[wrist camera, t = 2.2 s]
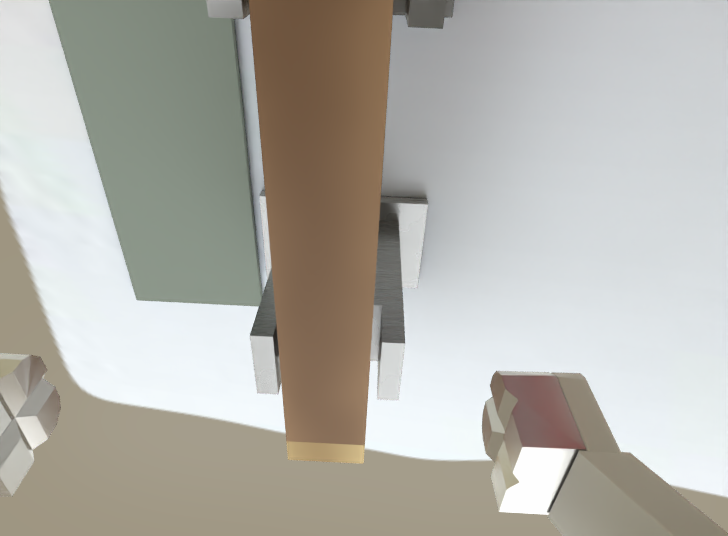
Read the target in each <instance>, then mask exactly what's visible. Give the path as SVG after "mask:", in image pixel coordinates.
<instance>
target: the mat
mask: <svg viewBox="0 0 728 536" xmlns="http://www.w3.org/2000/svg"><path fill="white" fill-rule="evenodd" d="M49 3H50V6H51V10H52V13H53V17H54V20H55V23H56V27H57V30H58V34H59V37H60V41H61V44H62V47H63V51H64V54H65V58H66V61H67V64H68V68H69V71H70V75H71V78H72V81H73V85H74V88H75V92H76V95H77V98H78V102H79V105H80V109H81V112H82V115H83V119H84V122H85V126H86V129H87V132H88V136H89V139H90V143H91V146H92V149H93V153H94V156H95V160H96V163H97V166H98V170H99V173H100V177H101V180H102V183H103V187H104V190H105V194H106V197H107V200H108V204H109V207H110V211H111V214H112V217H113V221H114V224H115V228H116V231H117V235H118V238H119V241H120V245H121V248H122V252H123V255H124V258H125V262H126V265H127V269H128V272H129V275H130V279H131V282H132V286H133V289H134V292H135V296H136V299H137V300H143V301H163V302H183V303H203V304H222V305H242V306H259V305H260V302H261V299H262V287H261V277H260V267H259V258H258V248H257V238H256V228H255V219H254V209H253V199H252V190H251V180H250V170H249V161H248V151H247V141H246V132H245V122H244V112H243V103H242V93H241V83H240V73H239V64H238V54H237V44H236V35H235V25H234V19H233V18H212V17H208V9H207V2H206V0H49Z"/></svg>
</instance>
